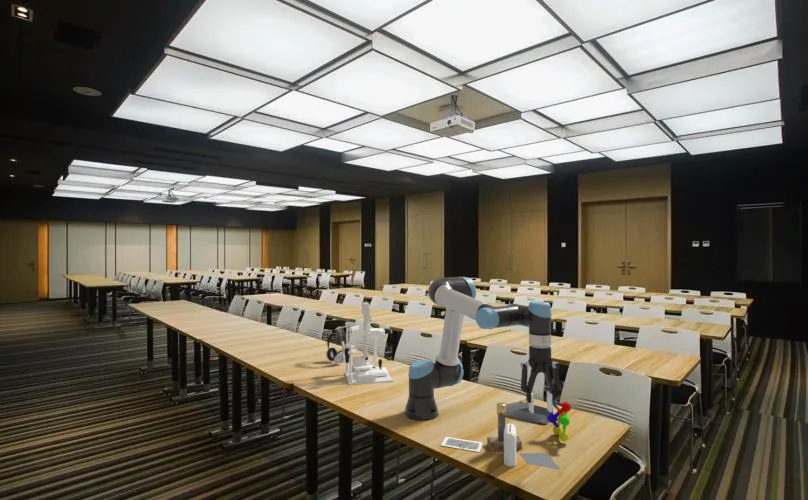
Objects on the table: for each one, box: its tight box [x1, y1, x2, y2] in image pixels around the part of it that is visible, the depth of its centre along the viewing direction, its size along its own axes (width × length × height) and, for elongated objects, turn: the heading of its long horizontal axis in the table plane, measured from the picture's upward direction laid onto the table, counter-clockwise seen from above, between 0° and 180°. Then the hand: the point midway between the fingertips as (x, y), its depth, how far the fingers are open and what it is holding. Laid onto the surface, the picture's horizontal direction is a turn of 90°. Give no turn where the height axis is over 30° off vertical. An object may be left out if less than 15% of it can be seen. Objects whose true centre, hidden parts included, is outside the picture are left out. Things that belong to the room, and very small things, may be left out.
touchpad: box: [440, 436, 484, 453], centre depth 159 cm, size 8×15×2 cm, turn 69°
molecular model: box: [545, 396, 572, 442], centre depth 165 cm, size 15×10×15 cm, turn 5°
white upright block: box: [503, 423, 517, 468], centre depth 148 cm, size 10×4×12 cm, turn 163°
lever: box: [496, 399, 529, 416], centre depth 160 cm, size 16×4×4 cm, turn 114°
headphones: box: [325, 332, 345, 364], centre depth 280 cm, size 19×8×20 cm, turn 44°
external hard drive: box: [505, 402, 550, 425], centre depth 188 cm, size 12×18×4 cm
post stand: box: [486, 414, 523, 451], centre depth 158 cm, size 12×5×13 cm, turn 94°
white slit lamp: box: [344, 301, 394, 386], centre depth 246 cm, size 24×27×45 cm
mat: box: [520, 452, 562, 471], centre depth 145 cm, size 10×14×1 cm
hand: (540, 411), depth 145 cm, fingers open, 6 cm apart
